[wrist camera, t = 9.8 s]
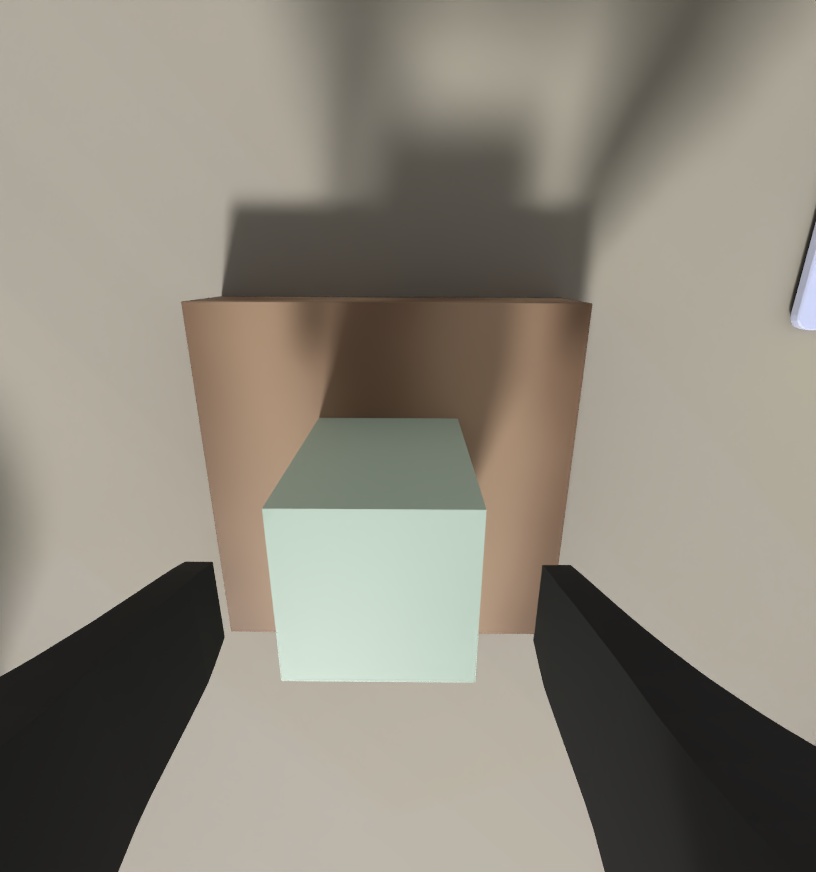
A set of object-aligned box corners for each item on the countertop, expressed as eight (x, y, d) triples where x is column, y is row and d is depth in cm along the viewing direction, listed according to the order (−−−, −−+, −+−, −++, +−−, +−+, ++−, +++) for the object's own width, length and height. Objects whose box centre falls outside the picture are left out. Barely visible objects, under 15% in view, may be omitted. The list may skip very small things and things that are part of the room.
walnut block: (561, 298, 16) (592, 303, 14) (530, 583, 20) (548, 633, 18) (220, 296, 16) (181, 301, 14) (256, 581, 20) (231, 631, 18)
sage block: (457, 418, 15) (486, 510, 9) (452, 539, 16) (474, 682, 11) (318, 418, 15) (261, 508, 9) (326, 538, 16) (281, 680, 11)
